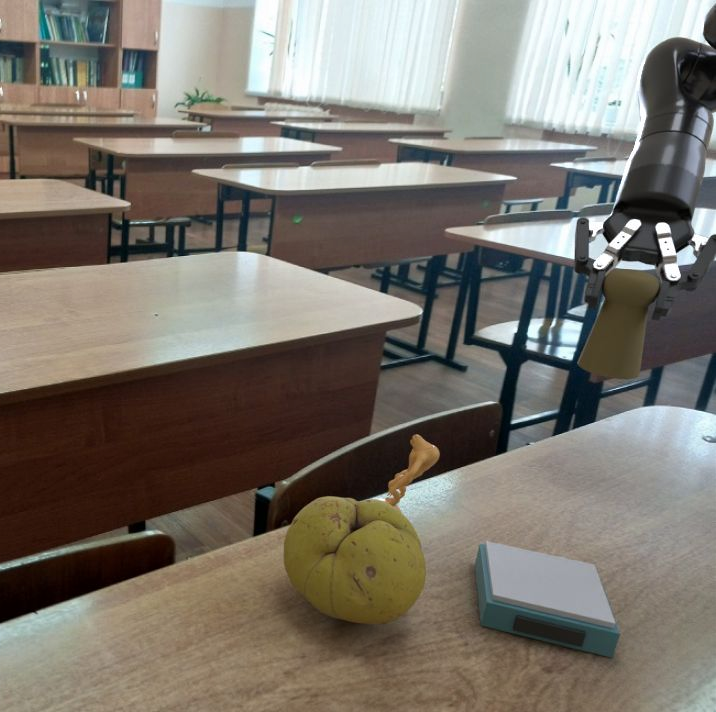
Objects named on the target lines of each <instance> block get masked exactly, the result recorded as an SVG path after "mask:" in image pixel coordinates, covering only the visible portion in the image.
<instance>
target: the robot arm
mask: <svg viewBox="0 0 716 712" xmlns="http://www.w3.org/2000/svg"><path fill="white" fill-rule="evenodd" d="M701 33H702V36H703V38H704V41H706V43H707V44H706V43H703V42H699V41H697V40H694V39H691V38H688V37H683V36H675V37H674V36H673V37H670V38H667V39H665V40H663V41H661V42H659V43H658V44H657V45H655V47H653V48H652V49H651V50H650V51H649V53H648V54H647V55H646V57H645V58H644V60H643V62H642V63H641V66H640V69H639V71H638V76H637V83H636V95H637V102H638V112H639V122H640V127H639V130H638V134H637V137H636V139H635V142H634V143H635V144H634V147H633V150H632V152H631V154H630V156H629V158H628V160H627V162H626V165H625V168H624V171H623V174H622V177H621V179H620V180H621V181H620V185H619V188H618V190H617V194H616V196H615V197H616V198H615V201H614V204H613V208H612V211H611V213H610V215H609V216H608V217H606V218H605V219H604V221H591V222H590V220H589V218H587V217H579V218H578V219H576V223H575V225H576V226H575V231H574V255H573V256H574V258H573V259H574V260H573V261H574V262H573V265H574V266H573V269H574V270H573V271H574V272H575V273H576V274H578V275H579V274H580V275H581V274H582V275H583V274H584V275H585V276H587V277H588V281H587V284H586V287H585V290H584V295H583V301H584V303H586V304H588V309H591V310H597V307H598V304H599V301H600V296H601V293H602V285H603V281H604V279H605V277H606V276H607V275H608V274H609V273H610V272H611V271H613V270H615V269H616V267H617V266H618V265H619V264H620V263H621V262H628V263H635V262H636V263H637V262H639V263H641V264H644V265H649V266H654V270H655V273H656V276H657V277H658V280H659V282H660V290H659V294H658V296H657V298H656V300H655V303H654V306H653V307H654V308H653V311H652V315H651V319H650V320H651V321H656V322H660V320H661V317H663V318H667V317H668V316H669V315H670V312H671V310H672V307H673V304H674V300H675V297H676V294H677V292H679V291H683V290H685V291H686V292H690V293H691V292H692V293H693V292H695V291H697V289H698V288H699V286H700V284H701V283H702V281H703V280H704V277H705V276H706V274H707V273H708V271H709V269H710V268H711V266H712V265H713V262H714V261H715V260H716V233H714V234H711V235H710V236H709V237H708V236H705V235H702V234H698V233H695V229H694V227H693V224H692V222H693V218H694V214H695V211H696V208H697V203H698V198H699V195H700V192H701V190H702V185H703V180H704V176H705V172H706V163H707V162H706V160H707V159H706V158H707V153H708V150H709V146H710V142H711V139H712V134H713V131H714V124H715V119H714V115H713V114H715V113H716V2H715V3H714V4H713V5H712V6H711V8H710V9H709V11H708V12H707V13H706V14H705V16H704V18H703V20H702V24H701ZM708 44H709V45H708ZM601 234H602V236H603V238H604V240H605V241H606V243H607V244H608V245H606V246H605V249H604V251H603V252H602V253H601V254H600V255H599V256H598V258H596V259H594V258H592V257H590V244H591V243H592V242H594V241H596V238H597V236H598V235H601ZM689 246H691V247H692V248H693V251H692V254H693V256H694V257H695V258H696V259H695V261H694V263H693V264H692V265H691V268H690V269H689V271H686V272H685V271H684V272H680V269H679V265H678V255H677V254H678V253H679V252H681V251H683V250H684V249H686V248H687V247H689Z"/></svg>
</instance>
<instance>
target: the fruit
mask: <svg viewBox="0 0 716 712" xmlns="http://www.w3.org/2000/svg"><path fill="white" fill-rule="evenodd" d="M401 512H402V511H401ZM401 512H400V511H399V510H397V509H396V508H395V507H393V506H392V505H390V504H388V503H387V502H384V501H381V500H375V499H374V498H367V499H364V500H360V501H358V500H356V499H354V498H352V497H340V496H329V495H327V496H322V497H321V496H320V497H318V498H316V499H314V500H312V501H311V502H310V503H308V504H306V505H305V506H304V507H302V509H300V510H299V512H298V513H297V514H296V515H295V517H294V518H293V519H292V521H291V523H290V525H289V527H288V529H287V531H286V534H285V537H284V541H283V565H284V569H285V572H286V575H287V577H288V579H289V581H290V583H291V584H292V586H293V587H294V588H295V589H296V590H297V591H298V592H299V594H301V596H303V597H304V598H305V599H306V600H307V601H308V602H309V603H310V604H311V605H312V606H313V607H314V608H315V609H316V610H318V611H319V612H321V613H322V614H324V615H326V616H328V617H331V618H334V619H338V620H341V621H342V620H343V621H346V622H351V623H355V624H364V625H383V624H387V623H390V622H392V621H394V620H396V619H398V618H401V617H402V616H403V615H404V614H406V613H407V612H408V611H409V610H410V609H411V608H412V607H413V606H415V604H416V602H417V601H418V599H419V598H420V596H421V595H422V592H423V590H424V587H425V584H426V577H427V563H426V558H425V555H424V553H423V550H422V544H421V540H420V537H419V535H418V533H417V531H416V529H415V527H414V526H413V524H412V523H411V521H410V520H409V519H408V518H407V516H405V515H404V514H403V512H402V513H401Z"/></svg>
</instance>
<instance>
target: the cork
mask: <svg viewBox="0 0 716 712" xmlns="http://www.w3.org/2000/svg"><path fill="white" fill-rule="evenodd" d="M660 286H661V282H660V279H659V277H656V276H655V275H654V274H651V273H649V272H647V271H643V270H638V269H631V268H629V269H628V268H623V269H622V268H621V269H613V270H611V271H610V272H609V273H608V274H607V275H606V276H605V279H604V281H603V285H602V290H601V293H602V296H603V298H604V300H603V302H602V304H601V306H600V309H599V311H598V313H597V316H596V318H595V320H594V323H593V325H592V327H591V329H590V331H589V334H588V336H587V339H586V342H585V344H584V346H583V349H582V351H581V353H580V356H579V358H578V360H577V362H576V363H577V364H576V365H577V366H578V367H579V368H581V369H582V370H584V371H586V372H588V373H591V374H594V375H597V376H601V377H605V378H611V379H617V380H635V379H638V378H639V377H640V375H641V368H642V361H643V360H642V358H643V351H644V344H645V336H646V329H647V322H648V316H649V315H648V313H649V307H650V305H652V304H653V303H654V302H656V299H657V296H658V294H659V290H660Z"/></svg>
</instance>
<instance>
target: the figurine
mask: <svg viewBox="0 0 716 712" xmlns="http://www.w3.org/2000/svg"><path fill="white" fill-rule="evenodd" d="M410 445H411V446H412V449H411V451H410V453H409V455H408V468H407V469H404V470H402V471H401V472H398V473H396V474H395V475H394V479H391V480H390V481H389V482H388V484H387V486H388V491H386V494H387V495H386V496H387V497H385V498H376V499H375V500H381V501H384V502H387V503H388V504H390V505H392V506H393V507H395V508H396V509H397V510H399V511H400V512H401V513H402V514H403V512H402V510H401V508H400V507H399V506H398V504H399V503H400V502H401V499H403V498H404V497H405V496H406V492H407V487H408V485H409V484H411V483H412V482H413V480H415V479H416V480H417V478H418V477H421V476H422V475H423V474H424V472H426V471H428V470H430V469H431V467H433V466H434V465H435V464H436V463H437V462H438V460H439V459H440V456H441V455H440V454H441V453H440V450H439V448H438V447H437V446H436V445H433V444H431V443H430V442H428V441H426V439H424V438H423V437H422V436H421V435H419V434H414V435H413V436H412V437H411V439H410Z"/></svg>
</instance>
